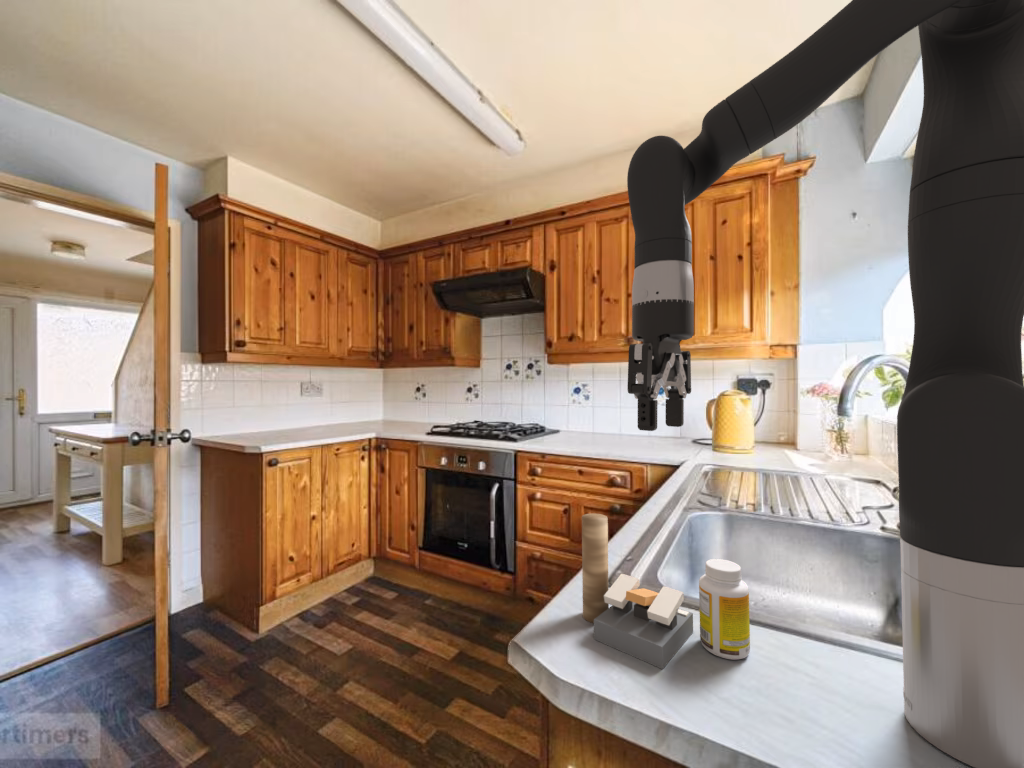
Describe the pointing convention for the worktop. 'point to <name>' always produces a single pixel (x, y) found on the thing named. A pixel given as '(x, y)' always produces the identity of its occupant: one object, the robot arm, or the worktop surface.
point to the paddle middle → (641, 596)
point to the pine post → (594, 565)
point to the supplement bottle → (724, 610)
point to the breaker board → (643, 633)
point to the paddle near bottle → (665, 605)
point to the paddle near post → (621, 590)
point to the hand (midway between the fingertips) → (661, 428)
